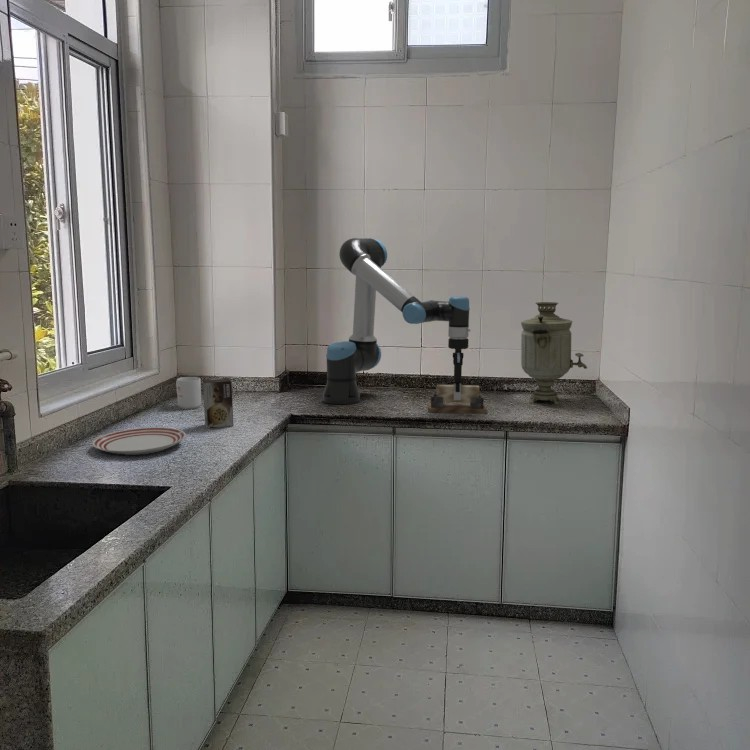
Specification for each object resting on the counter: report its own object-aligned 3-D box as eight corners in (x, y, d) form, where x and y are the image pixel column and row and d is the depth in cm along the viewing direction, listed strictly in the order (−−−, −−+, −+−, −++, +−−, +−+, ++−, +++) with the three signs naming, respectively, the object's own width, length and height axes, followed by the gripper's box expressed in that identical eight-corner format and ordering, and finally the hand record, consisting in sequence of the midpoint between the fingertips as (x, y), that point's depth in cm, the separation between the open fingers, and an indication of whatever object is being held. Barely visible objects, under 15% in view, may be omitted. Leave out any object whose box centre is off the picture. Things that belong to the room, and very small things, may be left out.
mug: (206, 407, 277) (205, 378, 275) (186, 410, 271) (185, 381, 269) (187, 402, 285) (186, 375, 283) (168, 406, 278) (167, 378, 276)
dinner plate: (88, 463, 205) (87, 452, 204) (96, 439, 231) (96, 429, 230) (187, 456, 212) (187, 445, 212) (185, 433, 238) (184, 424, 238)
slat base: (427, 412, 270) (428, 397, 269) (428, 406, 280) (428, 392, 279) (486, 413, 269) (487, 399, 268) (484, 407, 278) (485, 393, 277)
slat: (436, 401, 273) (436, 386, 272) (436, 399, 276) (436, 384, 275) (478, 402, 271) (479, 387, 270) (478, 400, 275) (478, 385, 274)
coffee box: (230, 422, 253) (229, 377, 250) (233, 426, 247) (232, 380, 245) (204, 424, 250) (202, 378, 247) (206, 428, 244) (205, 382, 241)
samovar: (566, 413, 269) (572, 307, 263) (503, 404, 285) (507, 303, 278) (595, 400, 293) (601, 302, 286) (535, 392, 308) (539, 299, 302)
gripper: (469, 340, 261) (467, 403, 265) (467, 335, 277) (466, 394, 281) (448, 340, 262) (447, 403, 266) (448, 335, 278) (446, 394, 282)
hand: (457, 398), depth 274 cm, fingers closed on slat, 3 cm apart
